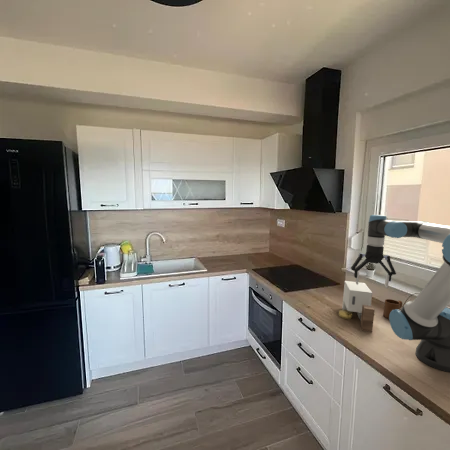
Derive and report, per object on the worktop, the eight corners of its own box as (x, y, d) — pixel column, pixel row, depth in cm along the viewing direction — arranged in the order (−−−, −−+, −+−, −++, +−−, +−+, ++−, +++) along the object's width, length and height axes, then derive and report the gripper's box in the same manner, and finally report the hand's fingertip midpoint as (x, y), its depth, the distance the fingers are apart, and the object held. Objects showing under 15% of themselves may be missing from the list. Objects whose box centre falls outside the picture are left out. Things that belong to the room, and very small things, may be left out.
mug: (394, 312, 154) (395, 297, 153) (406, 318, 147) (408, 302, 146) (379, 315, 149) (381, 299, 148) (392, 321, 142) (394, 305, 141)
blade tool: (372, 332, 130) (374, 309, 129) (362, 330, 132) (364, 308, 130) (362, 315, 149) (364, 295, 148) (354, 313, 150) (356, 294, 149)
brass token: (353, 320, 143) (353, 315, 142) (339, 318, 144) (340, 314, 144) (350, 314, 149) (351, 310, 149) (337, 313, 151) (338, 309, 151)
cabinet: (369, 324, 138) (372, 293, 136) (347, 320, 141) (350, 290, 139) (362, 310, 154) (364, 282, 152) (342, 308, 157) (344, 280, 155)
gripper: (400, 245, 130) (396, 286, 133) (347, 241, 138) (344, 280, 140) (406, 248, 123) (401, 291, 125) (349, 244, 130) (346, 284, 133)
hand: (371, 285), depth 133 cm, fingers open, 13 cm apart
